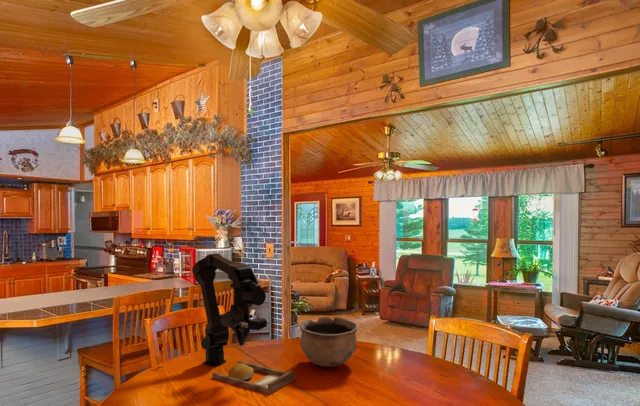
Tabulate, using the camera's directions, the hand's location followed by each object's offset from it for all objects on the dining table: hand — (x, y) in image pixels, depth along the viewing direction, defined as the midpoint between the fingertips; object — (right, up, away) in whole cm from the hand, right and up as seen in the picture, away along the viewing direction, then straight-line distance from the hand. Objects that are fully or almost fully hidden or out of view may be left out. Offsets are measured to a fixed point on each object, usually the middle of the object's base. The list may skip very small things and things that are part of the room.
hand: (241, 345), depth 149 cm
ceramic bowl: (+31, -11, +12) cm, 35 cm away
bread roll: (+4, -11, -2) cm, 12 cm away
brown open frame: (+5, -11, -3) cm, 12 cm away
